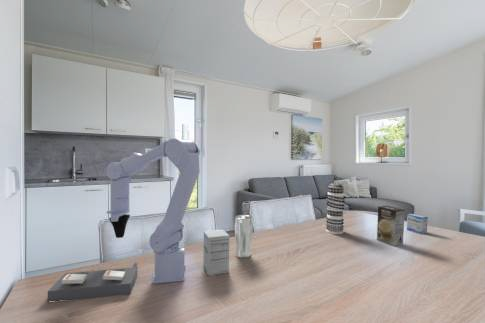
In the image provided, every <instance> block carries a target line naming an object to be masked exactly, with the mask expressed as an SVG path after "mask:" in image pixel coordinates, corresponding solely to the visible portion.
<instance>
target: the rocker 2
mask: <svg viewBox="0 0 485 323" xmlns="http://www.w3.org/2000/svg"><path fill="white" fill-rule="evenodd" d="M106 270H107V271H106V272H105V274H104V275H103V279H108V280H122V279H123V277H124V275H125V272H124V271H111V270H109V269H106Z"/></svg>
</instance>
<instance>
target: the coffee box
mask: <svg viewBox="0 0 485 323" xmlns="http://www.w3.org/2000/svg"><path fill="white" fill-rule="evenodd" d="M377 208H378V209H377V227H376V230H377V231H376V240H377V241H379V242H382V243H385V244H386V245H390V246H393V247H397V246H403V245H404V234H405V232H404V228H405V213H406V212H405V211H406V210H405V209H402V208H398V207H394V206H390V205H382V206H377Z"/></svg>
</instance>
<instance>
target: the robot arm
mask: <svg viewBox="0 0 485 323" xmlns="http://www.w3.org/2000/svg"><path fill="white" fill-rule="evenodd" d="M200 153H201V150H200V148H199V147H198V144H196V142H195V141H193V140H191V139H187V140H186V139H179V138H170V139H168V140H165V141H163V142H161V144H158V145H157V146H155V147H154V148H152V149H149V150H148V151H146V152H145V153H143V154H142V153H139V152H132V153H131V154H130V156H128V157H126V158H121V159H120V161H118V162H116V161H111V162H110V163H108V165H107V167H106V172H105V173H106V175H107V177H108V179H110V209H108V210H106V214H109V215H110V217H109V220H108V221H109V222H110V223H111V225H112V227H113V231H114V235H115V237H116V239H121V238H124V235H125V234H126V227H127V223H128V221H129V219H130V216H131V214H130V212H131V209H130V183H131V178H132V177H133V175H135V174H136V173H139V172H141V171H143V170H146V168H148V165H149V164H150V163H153V162H155V161H158V160H160V159H163V158H166V157H167V159H168V160H169V161H171V163H172V164H173V165H174V166H175V168H177V170H178V172H179V175H178V177H177V181H176V183H175V187H174V189H173V193H172V195H171V197H170V200H169V203H168V206H167V209H166V212H165V215H164V217H163V219H162V220H161V221H160V222H159V224H158V225H157V226H155V230H154V231H153V233H152V234H150V237H149V241H148V242H149V246H150V248H151V250H152V251H153V253H154V272H153V276H152V279H151V284H162V283H173V282H175V283H176V282H183V281H185V271H186V264H185V247H180V242H181V241H182V239H183V237H184V233H183V232H184V231H183V230H184V227H185V225H184V224H183V223H182V220H183V219H184V216H185V213H186V210H187V208H188V204H189V202H190V199H191V196H192V193H193V190H194V188H195V185H196V183H197V181H198V180H197V179H198V178H199V175H200V170H201V169H200V158H199V156H200Z"/></svg>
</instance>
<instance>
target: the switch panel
mask: <svg viewBox="0 0 485 323" xmlns="http://www.w3.org/2000/svg"><path fill="white" fill-rule="evenodd" d="M137 265H138V263H137V262H135V263H133V266H132V267H124V268H123V267H122V268H112V269H111V268H110V269H100V270H99V269H98V270H88V271H73V272H65V273H64V274H63V276H61V277H60V279H58V280H57V282H55V283H54V284H53V286H52V287H51V288H49V289H48V290H47V302H48V301H59V302H61V301H60V300H69V301H75V299H76V300H86V299H95V298H103V297H105V298H106V297H113V296H123V295H124V296H125V295H131V294H132V292H133V289H134V287H135V283H136V282H137V278H138V267H137ZM107 270H111V271H124V272H125V275H124V277H123V279H122V280H108V279H103V275H104V274H105V272H106V271H107ZM67 274H87V278H86V279H85V281H84V282H83V283H74V284H62V279H63V278H64V277H65V276H66V275H67Z"/></svg>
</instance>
